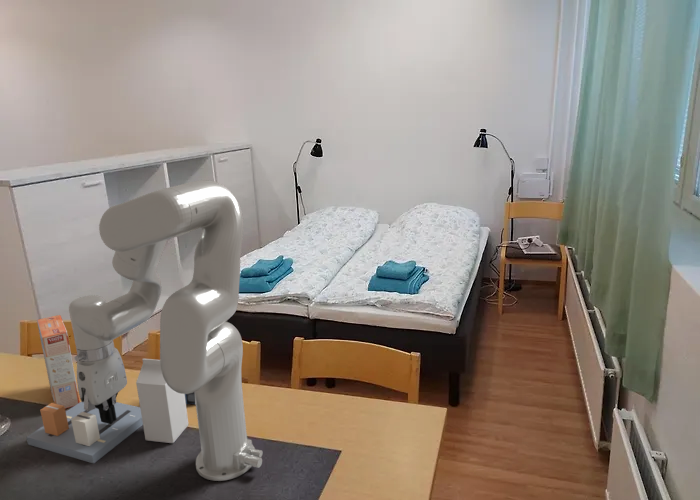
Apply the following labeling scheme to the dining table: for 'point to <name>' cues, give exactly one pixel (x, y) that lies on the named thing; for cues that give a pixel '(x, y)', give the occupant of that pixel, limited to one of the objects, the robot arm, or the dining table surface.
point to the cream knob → (85, 428)
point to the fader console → (109, 433)
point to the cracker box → (58, 361)
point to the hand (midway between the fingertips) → (109, 421)
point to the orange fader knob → (54, 419)
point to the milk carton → (160, 405)
